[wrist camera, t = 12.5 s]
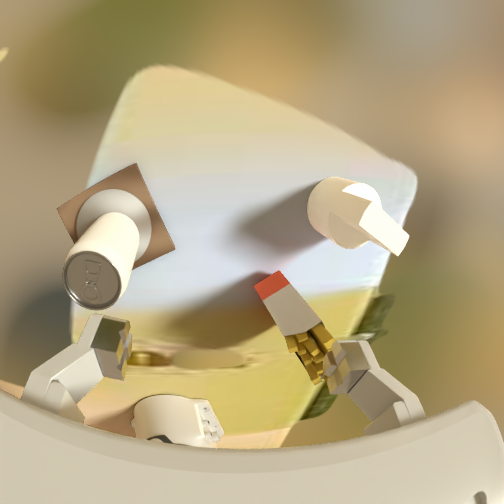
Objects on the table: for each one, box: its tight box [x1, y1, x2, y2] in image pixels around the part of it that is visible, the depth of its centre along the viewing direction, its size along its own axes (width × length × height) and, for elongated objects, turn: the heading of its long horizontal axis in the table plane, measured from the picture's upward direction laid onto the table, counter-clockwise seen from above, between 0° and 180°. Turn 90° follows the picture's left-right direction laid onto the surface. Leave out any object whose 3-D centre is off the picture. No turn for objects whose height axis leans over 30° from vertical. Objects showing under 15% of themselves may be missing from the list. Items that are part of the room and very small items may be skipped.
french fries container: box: [254, 270, 335, 385], centre depth 34 cm, size 5×11×18 cm, turn 28°
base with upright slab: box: [307, 177, 409, 256], centre depth 34 cm, size 9×9×12 cm
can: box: [62, 212, 139, 310], centre depth 25 cm, size 6×6×12 cm
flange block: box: [57, 163, 175, 270], centre depth 31 cm, size 12×12×2 cm
